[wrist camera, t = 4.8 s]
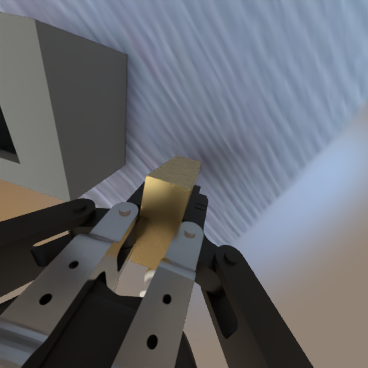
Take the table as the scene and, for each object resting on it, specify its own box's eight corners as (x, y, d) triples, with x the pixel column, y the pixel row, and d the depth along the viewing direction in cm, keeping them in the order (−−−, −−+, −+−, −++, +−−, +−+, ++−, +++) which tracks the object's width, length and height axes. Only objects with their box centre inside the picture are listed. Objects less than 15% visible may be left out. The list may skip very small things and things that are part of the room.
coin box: (20, 30, 17) (-147, -21, 9) (127, 54, 16) (34, 19, 8) (47, 141, 23) (-42, 165, 16) (125, 164, 22) (70, 202, 15)
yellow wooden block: (176, 154, 13) (146, 175, 7) (202, 162, 13) (190, 188, 7) (164, 209, 14) (131, 261, 9) (185, 216, 14) (166, 273, 9)
